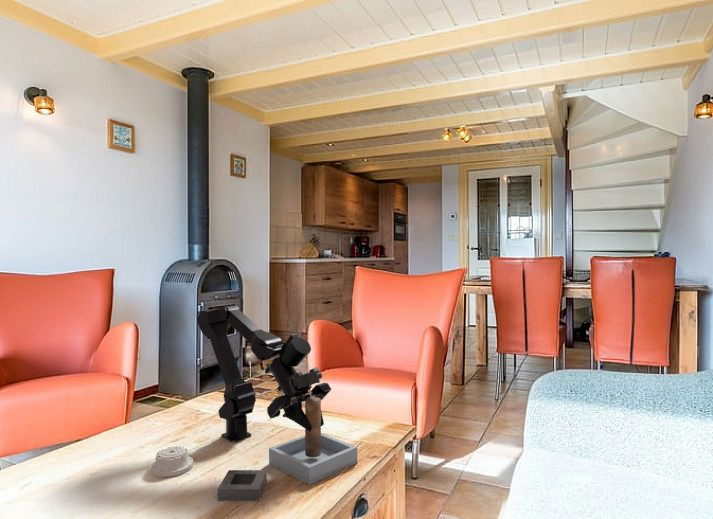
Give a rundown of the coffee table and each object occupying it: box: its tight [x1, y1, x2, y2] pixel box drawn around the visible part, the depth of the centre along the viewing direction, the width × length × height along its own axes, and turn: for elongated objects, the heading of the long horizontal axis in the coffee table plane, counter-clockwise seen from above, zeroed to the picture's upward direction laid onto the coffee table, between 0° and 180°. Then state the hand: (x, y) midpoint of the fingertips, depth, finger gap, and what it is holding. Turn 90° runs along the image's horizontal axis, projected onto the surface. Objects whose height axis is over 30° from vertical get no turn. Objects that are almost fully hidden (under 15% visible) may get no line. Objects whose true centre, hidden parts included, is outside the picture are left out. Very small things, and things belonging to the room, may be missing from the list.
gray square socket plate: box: [217, 469, 268, 501], centre depth 108 cm, size 9×9×2 cm
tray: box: [268, 432, 358, 486], centre depth 122 cm, size 16×16×4 cm
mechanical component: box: [150, 445, 194, 478], centre depth 120 cm, size 10×4×10 cm
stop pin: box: [304, 397, 322, 457], centre depth 122 cm, size 4×4×14 cm
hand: (316, 427), depth 121 cm, fingers closed on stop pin, 4 cm apart
